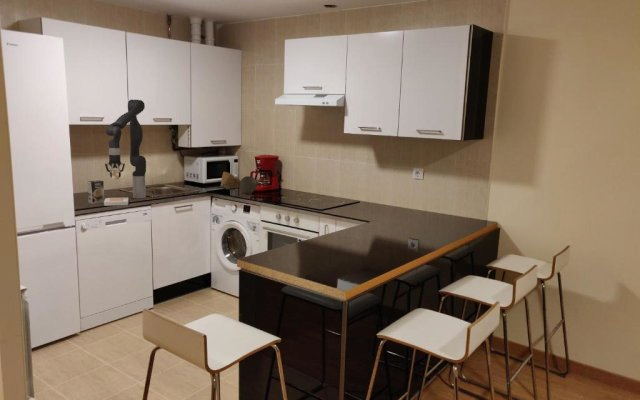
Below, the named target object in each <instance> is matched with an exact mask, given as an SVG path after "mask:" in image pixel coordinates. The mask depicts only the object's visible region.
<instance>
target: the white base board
mask: <svg viewBox="0 0 640 400" xmlns="http://www.w3.org/2000/svg"><path fill="white" fill-rule="evenodd" d="M103 205H104V206H128V205H129V197H128V196H127V197H104V203H103Z"/></svg>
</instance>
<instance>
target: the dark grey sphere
mask: <svg viewBox="0 0 640 400" xmlns="http://www.w3.org/2000/svg"><path fill="white" fill-rule="evenodd" d="M257 185H258V182H257V180H256V179H255V178H254V177H252V176H247V175H246V176H243V178H241V180H240V185H239V189H240V192H241V193H243V194H245V195H248V194H249V195H250V194H252V193H253V192H255V190H256V188H257Z"/></svg>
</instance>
